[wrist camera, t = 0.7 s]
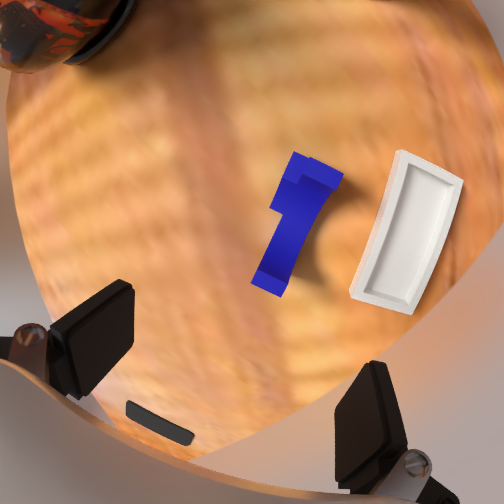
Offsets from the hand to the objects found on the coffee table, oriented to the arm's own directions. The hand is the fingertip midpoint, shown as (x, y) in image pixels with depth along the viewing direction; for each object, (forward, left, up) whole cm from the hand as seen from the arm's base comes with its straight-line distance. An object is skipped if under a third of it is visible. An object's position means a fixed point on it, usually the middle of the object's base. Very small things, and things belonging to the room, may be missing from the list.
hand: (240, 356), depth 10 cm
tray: (-4, +13, -20) cm, 24 cm away
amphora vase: (-25, -34, -20) cm, 47 cm away
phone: (+45, -12, -21) cm, 51 cm away
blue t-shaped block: (-2, 0, -20) cm, 20 cm away
